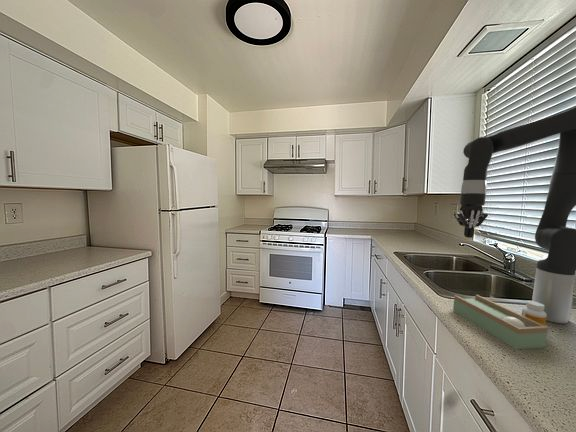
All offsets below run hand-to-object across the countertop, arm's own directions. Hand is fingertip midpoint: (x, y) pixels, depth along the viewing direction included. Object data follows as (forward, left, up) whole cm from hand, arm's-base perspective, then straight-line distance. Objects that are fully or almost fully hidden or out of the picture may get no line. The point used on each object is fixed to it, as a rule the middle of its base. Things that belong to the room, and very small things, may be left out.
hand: (468, 237), depth 92 cm
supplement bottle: (-6, +20, -27) cm, 34 cm away
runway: (+4, +16, -27) cm, 32 cm away
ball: (+4, +22, -24) cm, 32 cm away
